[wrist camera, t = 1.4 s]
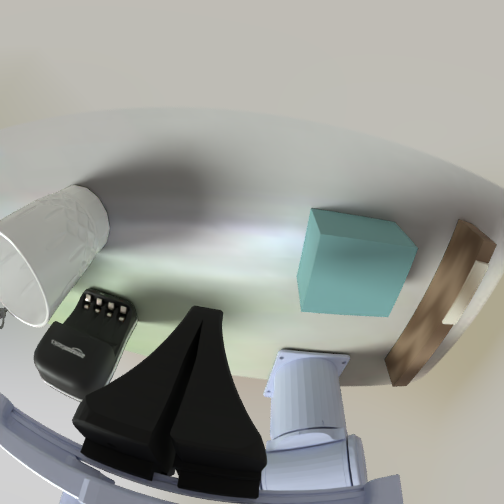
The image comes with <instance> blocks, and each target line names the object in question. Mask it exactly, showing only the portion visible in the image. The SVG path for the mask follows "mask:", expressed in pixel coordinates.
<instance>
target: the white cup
mask: <svg viewBox="0 0 504 504" xmlns="http://www.w3.org/2000/svg"><path fill="white" fill-rule="evenodd" d="M109 230H110V227H109V222H108V216H107V212H106V210H105V208H104V207H103V205H102V203H101V201H100V200H99V198H98V197H97V196H96V195H95V194H93V193H92V192H91V191H90V190H89V189H87V188H86V187H81V186H76V185H72V186H69V187H67V188H65V189H62V190H60V191H58V192H56V193H53V194H49V195H46V196H44V197H42V198H40V199H37V200H35V201H33V202H32V203H30V204H28V205H26V206H24V207H22V208H20V209H19V210H17V211H15V212H13V213H11V214H10V215H8V216H6V217H4V218H3V219H1V220H0V301H1V303H2V304H3V305H4V306H5V307H6V308H7V310H8V311H9V312H11V313H12V314H13V315H14V316H15V317H16V318H18V319H19V320H20V321H22V322H24V323H25V324H27V325H30V326H33V327H43V326H45V325H46V324H47V323H48V321H49V320H50V318H51V317H52V315H53V314H54V312H55V311H56V310H57V308H58V307H59V305H60V304H61V303H62V301H63V300H64V298H65V297H66V296H67V294H68V293H69V292H70V290H71V289H72V288H73V286H74V285H75V284H76V283H77V281H78V280H79V279H80V277H81V276H82V275H83V273H84V272H85V271H86V269H87V268H88V267H89V265H90V264H91V262H92V260H93V259H94V257H95V256H96V254H97V253H98V252H99V251H100V250H101V249H102V248H103V247H104V245H105V244H106V243H107V239H108V235H109Z"/></svg>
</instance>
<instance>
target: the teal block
mask: <svg viewBox="0 0 504 504" xmlns="http://www.w3.org/2000/svg"><path fill="white" fill-rule="evenodd" d="M417 250H418V248H417V246H416V245H415V244H414V243H413V242H412V241H411V240H410V238H409V237H408V236H407V235H406V234H405V233H404V232H403V231H402V230H401V229H400V227H399V226H398V225H397V224H396V223H395V222H391V221H386V220H380V219H375V218H369V217H363V216H357V215H351V214H345V213H339V212H333V211H326V210H319V209H313V208H311V211H310V216H309V221H308V226H307V231H306V236H305V241H304V246H303V251H302V255H301V260H300V264H299V269H298V274H297V282H298V290H299V298H300V306H301V312H313V313H326V314H340V315H357V316H377V317H388V316H389V314H390V312H391V310H392V308H393V306H394V304H395V302H396V300H397V298H398V295H399V293H400V291H401V289H402V287H403V284H404V282H405V280H406V277H407V275H408V273H409V270H410V268H411V265H412V263H413V260H414V258H415V255H416V253H417Z"/></svg>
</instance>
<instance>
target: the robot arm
mask: <svg viewBox="0 0 504 504" xmlns="http://www.w3.org/2000/svg"><path fill="white" fill-rule="evenodd" d="M222 319H223V312H222V311H221V310H216V309H210V308H204V307H199V306H193V307H192V308H191V309H190V311H189V312H188V313H187V315H186V316H185V318H184V319H183V320H182V321H181V323H180V324H179V325H178V326H177V327H176V329H175V330H174V331H173V332H172V333H171V334H170V335H169V337H168V338H167V339H166V340H165V341H164V342H163V343H162V344H161V345H160V346H159V347H158V348H157V349H156V350H155V351H154V352H152V353H151V354H150V355H149V356H148V357H147V358H146V359H144V360H143V361H142V362H141V363H139V364H138V365H137V366H135V367H134V368H133V369H131V370H130V371H129V372H127V373H126V374H124V375H122V376H121V377H119V378H118V379H116V380H114V381H113V382H111V383H109V384H107V385H106V386H104V387H102V388H99V389H97V390H95V391H93V392H91V393H89V394H87V395H85V397H84V398H83V400H82V401H81V403H80V405H79V406H78V408H77V411H76V413H75V415H74V417H73V419H72V421H73V425H74V426H75V427H76V428H77V429H78V430H79V432H80V433H81V434H82V435H83V436H84V437H85V441H84V443H83V446H82V445H80V444H78V443H76V442H73V441H72V440H70V439H68V438H66V437H64V436H62V435H60V434H58V433H56V432H55V431H53V430H51V429H49V428H47V427H46V426H44V425H42V424H41V423H39V422H37V421H36V420H34V419H33V418H31V417H29V416H28V415H26V414H25V413H23V412H22V411H20V410H19V409H17V408H16V407H14V405H13V404H12V403H11V402H10V401H9V400H8V399H7V398H6V397H5V396H4V395H3V394H1V393H0V447H2V448H3V449H4V450H5V451H7V452H8V453H9V454H10V455H11V456H13V457H14V458H15V459H16V460H18V461H19V462H20V463H22V464H23V465H24V466H26V467H27V468H29V469H30V470H31V471H33V472H34V473H36V474H37V475H39V476H40V477H42V478H43V479H44V480H46V481H48V482H49V483H51V484H53V485H54V486H56V487H57V488H59V489H61V490H62V491H63V493H62V496H61V500H60V503H59V504H177V503H173V502H169V501H165V500H161V499H158V498H154V497H151V496H147V495H144V494H141V493H137V492H135V491H132V490H129V489H125V488H123V487H120V486H117V485H114V484H115V482H114V480H112V479H110V478H108V477H106V476H105V475H103V474H102V473H100V471H98V470H96V469H94V468H92V467H90V466H88V465H86V464H84V463H82V462H81V461H84V462H86V463H88V464H90V465H93V466H95V467H97V468H99V469H102V470H104V471H106V472H109V473H112V474H114V475H117V476H119V477H122V478H125V479H128V480H131V481H134V482H137V483H140V484H143V485H146V486H150V487H153V488H157V489H160V490H164V491H168V492H172V493H177V494H181V495H186V496H191V497H196V498H202V499H207V500H214V501H222V502H230V503H240V504H403V498H402V490H401V483H400V476H399V475H398V474H396V475H392V476H388V477H383V478H378V479H374V480H371V481H369V482H367V471H366V463H365V456H364V450H363V445H362V441H361V438H359V437H358V436H356V435H355V434H352V435H349V436H348V434H347V430H346V422H345V415H344V408H343V402H342V395H341V389H340V383H339V376H340V375H341V373H342V371H343V370H344V368H345V367H346V365H347V363H348V362H349V360H350V356H349V355H344V354H328V353H315V352H303V351H293V350H280V351H278V354H277V357H276V360H275V363H274V365H273V368H272V371H271V374H270V377H269V379H268V382H267V385H266V388H265V391H264V396H265V397H271V425H270V436H271V440H269V441H267V443H266V449H265V447H264V444H263V441H262V438H261V435H260V434H259V432H258V431H257V429H256V427H255V426H254V424H253V422H252V421H251V419H250V417H249V415H248V413H247V411H246V410H245V407H244V405H243V403H242V401H241V399H240V397H239V394H238V392H237V390H236V387H235V384H234V382H233V379H232V376H231V373H230V369H229V366H228V362H227V358H226V353H225V348H224V342H223V335H222ZM282 356H283V357H282ZM175 469H176V471H177V473H178V475H179V478H175V477H171V476H172V475H174V473H175Z"/></svg>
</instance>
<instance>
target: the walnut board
mask: <svg viewBox="0 0 504 504" xmlns="http://www.w3.org/2000/svg"><path fill="white" fill-rule="evenodd" d="M496 245H497V244H495V243H494V242H493V241H492V240H491V239H490V238H489V237H487V236H486V235H485V234H484V233H483V232H481V231H480V230H479V229H478V228H477V227H475V226H474V225H473V224H471V223H468V222H465V221H463V220H460V219H459V220H458V223H457V225H456V228H455V230H454V233H453V235H452V238H451V240H450V243H449V245H448V247H447V250H446V252H445V254H444V256H443V259H442V261H441V263H440V265H439V267H438V269H437V271H436V273H435V276H434V278H433V280H432V282H431V283H430V285H429V287H428V289H427V291H426V293H425V295H424V297H423V299H422V300H421V302H420V304H419V306H418V308H417V309H416V311H415V313H414V315H413V316H412V318H411V320H410V321H409V323H408V325H407V326H406V328H405V329H404V331H403V333H402V334H401V336H400V337H399V339H398V340H397V342H396V344H395V345H394V347H393V348H392V350H391V351H390V352H389V354H388V355H387V357H386V358H385V363H386V366H387V369H388V373H389V376H390V379H391V382H392V386H407V385H408V384H409V383H410V381H411V380H412V379H413V378H414V377H415V375H416V374H417V373H418V372H419V371H420V369H421V368H422V367H423V366H424V365H425V363H426V362H427V361H428V359H429V358H430V357H431V356H432V354H433V353H434V352H435V350H436V349H437V348H438V346H439V345H440V343H441V342H442V341H443V339H444V338H445V336H446V335H447V334H448V332H449V331H450V329H451V328H452V326H453V325H454V324H456V323H457V322H458V320H459V319H460V317H461V315H462V314H463V312H464V311H465V309H466V307H467V306H468V304H469V302H470V301H471V299H472V297H473V295H474V294H475V292H476V290H477V288H478V286H479V285H480V283H481V281H482V279H483V277H484V275H485V273H486V271H487V269H488V267H489V264H488V263H489V261H490V259H491V256H492V254H493V252H494V250H495V248H496Z"/></svg>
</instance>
